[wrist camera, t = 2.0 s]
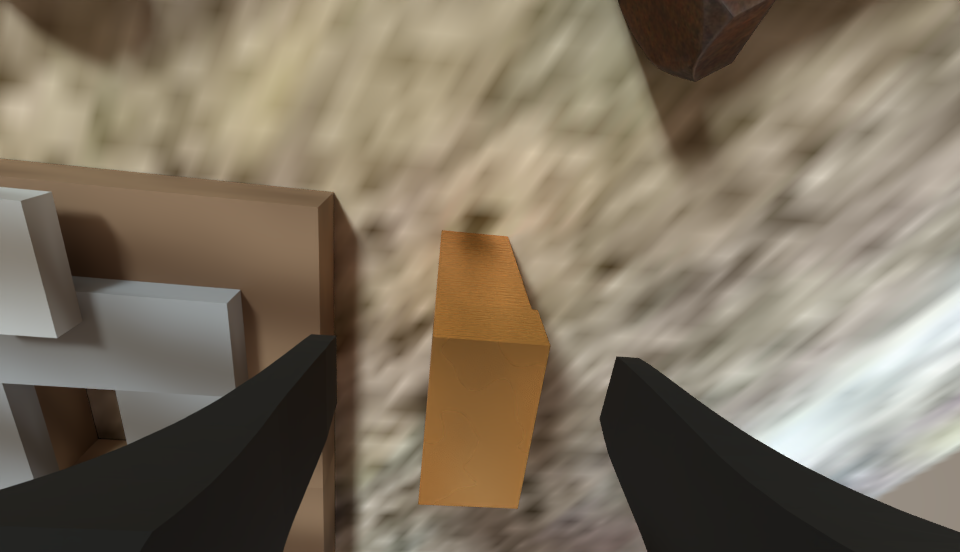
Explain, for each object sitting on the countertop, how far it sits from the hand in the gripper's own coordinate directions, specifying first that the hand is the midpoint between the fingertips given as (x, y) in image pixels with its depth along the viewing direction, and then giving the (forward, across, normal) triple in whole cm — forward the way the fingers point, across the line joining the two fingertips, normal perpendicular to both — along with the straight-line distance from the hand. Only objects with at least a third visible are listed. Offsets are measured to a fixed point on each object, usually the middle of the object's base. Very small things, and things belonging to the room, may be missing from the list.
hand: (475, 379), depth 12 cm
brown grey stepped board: (+6, +13, +6) cm, 16 cm away
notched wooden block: (+6, 0, 0) cm, 6 cm away
